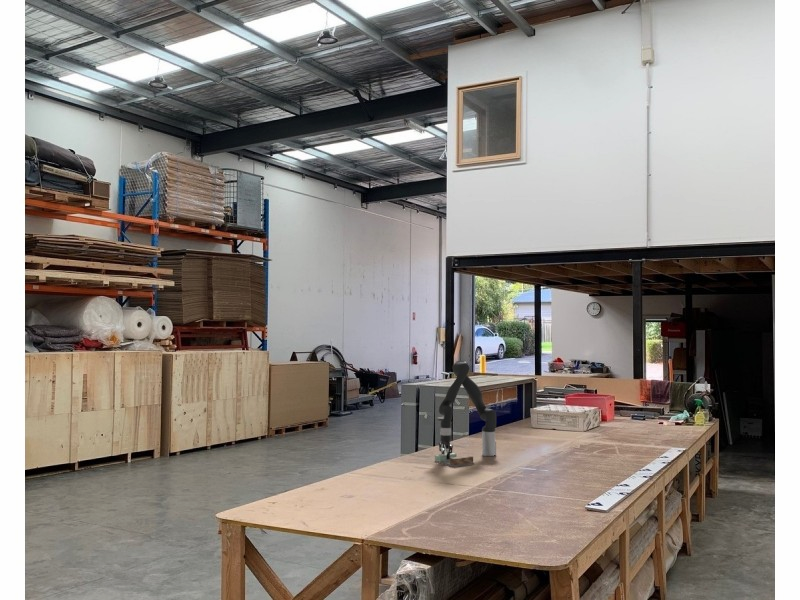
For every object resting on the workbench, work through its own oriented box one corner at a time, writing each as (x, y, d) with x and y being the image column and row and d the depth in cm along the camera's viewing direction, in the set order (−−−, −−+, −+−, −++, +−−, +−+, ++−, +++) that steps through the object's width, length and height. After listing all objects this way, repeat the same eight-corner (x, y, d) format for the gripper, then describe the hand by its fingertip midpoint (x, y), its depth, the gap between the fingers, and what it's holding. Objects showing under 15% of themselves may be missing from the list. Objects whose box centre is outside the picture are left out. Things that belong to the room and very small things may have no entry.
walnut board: (468, 461, 446) (468, 455, 446) (473, 462, 442) (473, 456, 442) (449, 463, 438) (449, 457, 438) (454, 465, 433) (454, 459, 434)
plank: (451, 458, 462) (451, 452, 462) (456, 459, 458) (456, 453, 459) (434, 461, 452) (435, 455, 452) (440, 462, 448) (440, 456, 448)
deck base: (461, 460, 455) (461, 458, 455) (474, 464, 442) (474, 462, 442) (439, 462, 446) (439, 461, 446) (452, 466, 433) (452, 465, 433)
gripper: (456, 435, 452) (456, 459, 451) (444, 432, 464) (444, 456, 463) (447, 436, 448) (447, 461, 447) (435, 433, 460) (435, 457, 459)
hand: (445, 458), depth 455 cm, fingers closed on plank, 5 cm apart
